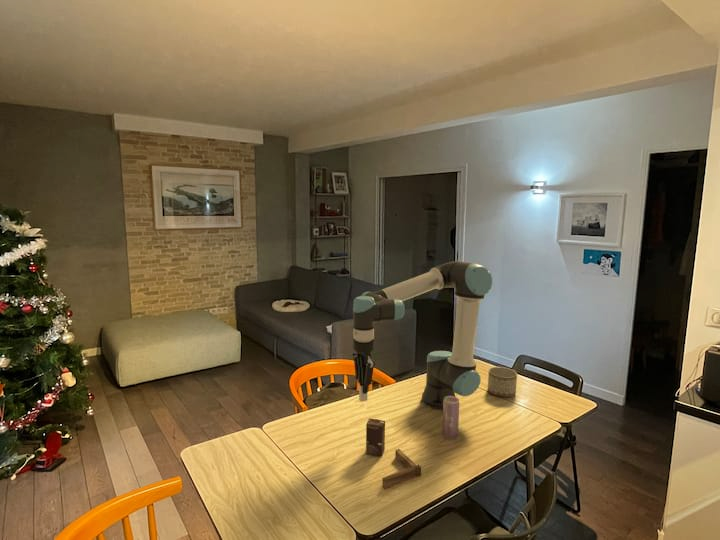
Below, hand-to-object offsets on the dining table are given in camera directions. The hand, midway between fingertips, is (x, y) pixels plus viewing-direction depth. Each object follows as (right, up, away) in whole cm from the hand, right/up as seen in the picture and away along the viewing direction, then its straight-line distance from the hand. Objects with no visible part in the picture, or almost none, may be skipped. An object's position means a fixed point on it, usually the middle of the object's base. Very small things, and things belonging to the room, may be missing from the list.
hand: (363, 400), depth 151 cm
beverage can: (+34, -16, +6) cm, 37 cm away
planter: (+66, -10, +42) cm, 79 cm away
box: (+4, -17, -5) cm, 19 cm away
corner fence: (+10, -19, -15) cm, 26 cm away
